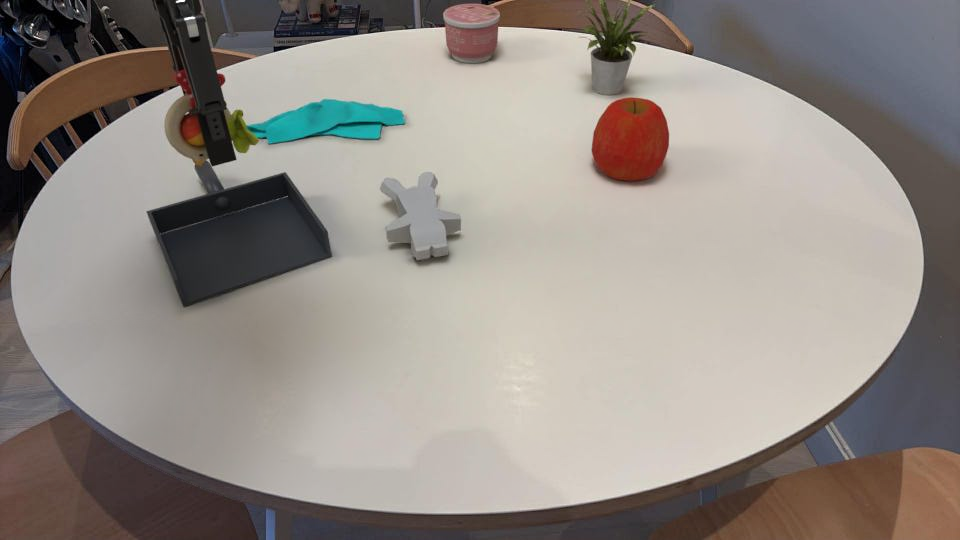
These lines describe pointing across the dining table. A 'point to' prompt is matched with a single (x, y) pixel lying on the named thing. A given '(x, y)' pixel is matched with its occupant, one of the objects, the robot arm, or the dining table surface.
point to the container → (471, 32)
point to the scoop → (237, 235)
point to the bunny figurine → (420, 217)
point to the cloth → (328, 121)
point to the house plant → (611, 49)
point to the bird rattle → (187, 130)
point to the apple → (631, 139)
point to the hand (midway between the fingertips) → (216, 149)
